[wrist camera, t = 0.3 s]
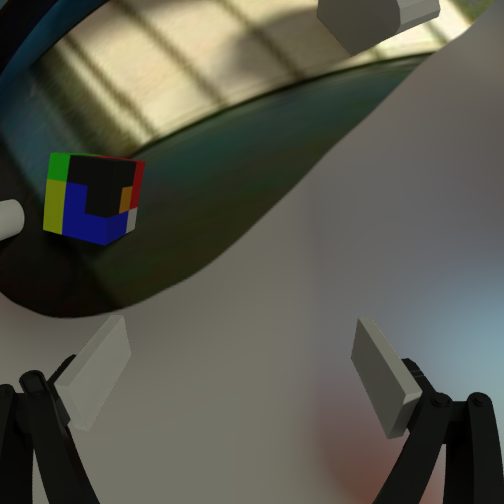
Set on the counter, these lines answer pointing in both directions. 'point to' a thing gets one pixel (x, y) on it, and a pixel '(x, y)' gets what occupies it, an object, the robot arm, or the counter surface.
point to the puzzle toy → (92, 196)
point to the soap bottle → (373, 19)
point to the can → (10, 218)
